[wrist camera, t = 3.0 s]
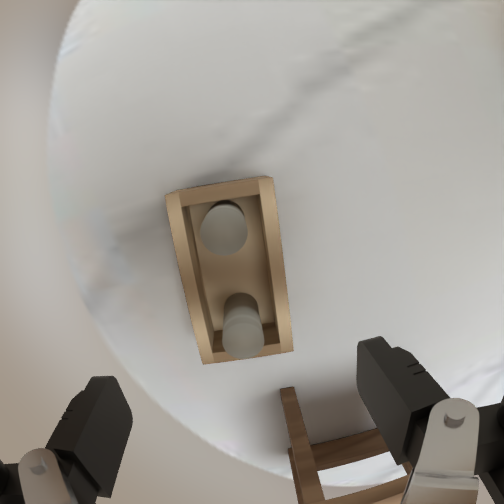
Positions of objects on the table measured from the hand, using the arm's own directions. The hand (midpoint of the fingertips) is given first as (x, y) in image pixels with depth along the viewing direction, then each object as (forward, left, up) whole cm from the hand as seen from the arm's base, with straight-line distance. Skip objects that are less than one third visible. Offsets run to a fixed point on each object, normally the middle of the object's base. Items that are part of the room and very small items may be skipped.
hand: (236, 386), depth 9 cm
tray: (0, 0, -13) cm, 13 cm away
